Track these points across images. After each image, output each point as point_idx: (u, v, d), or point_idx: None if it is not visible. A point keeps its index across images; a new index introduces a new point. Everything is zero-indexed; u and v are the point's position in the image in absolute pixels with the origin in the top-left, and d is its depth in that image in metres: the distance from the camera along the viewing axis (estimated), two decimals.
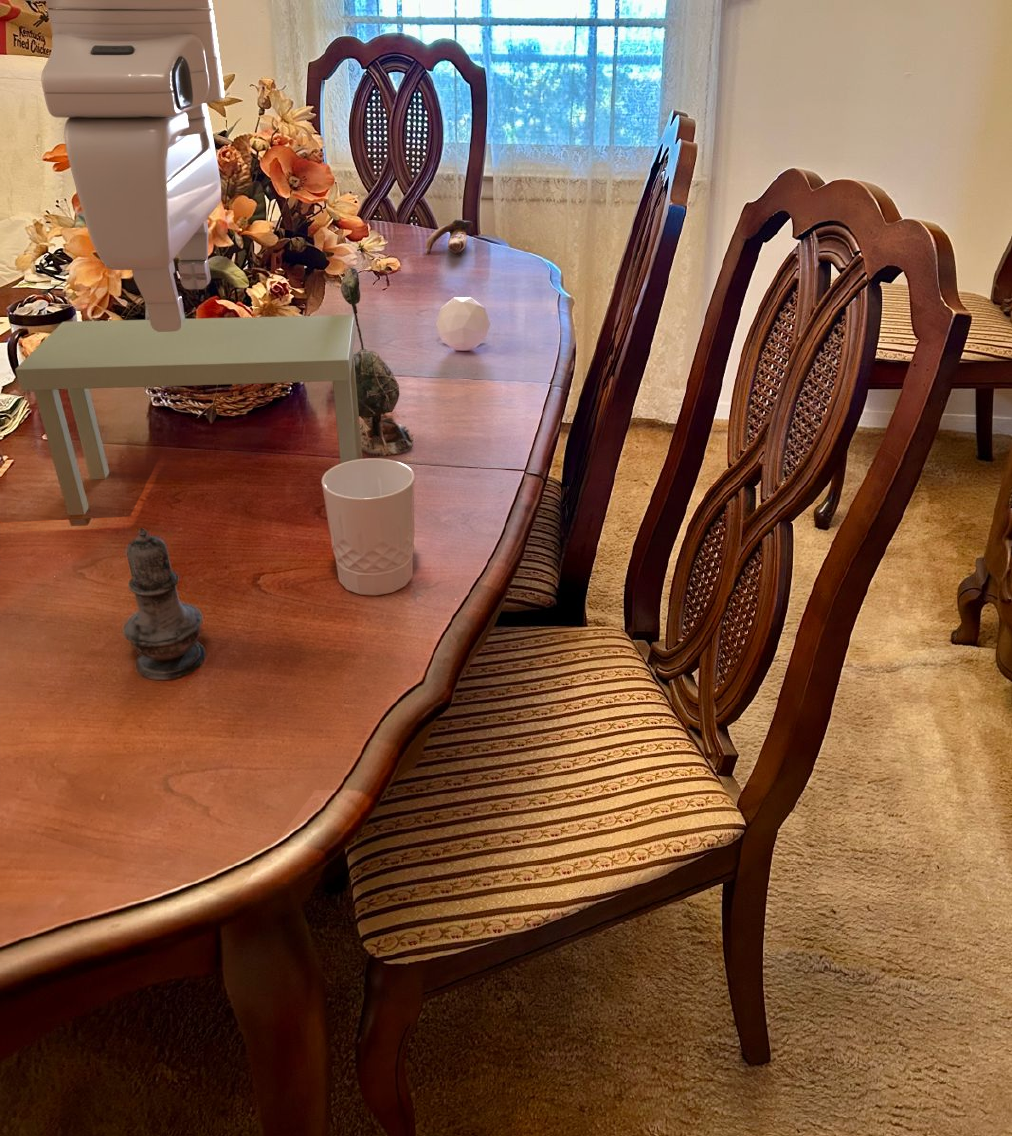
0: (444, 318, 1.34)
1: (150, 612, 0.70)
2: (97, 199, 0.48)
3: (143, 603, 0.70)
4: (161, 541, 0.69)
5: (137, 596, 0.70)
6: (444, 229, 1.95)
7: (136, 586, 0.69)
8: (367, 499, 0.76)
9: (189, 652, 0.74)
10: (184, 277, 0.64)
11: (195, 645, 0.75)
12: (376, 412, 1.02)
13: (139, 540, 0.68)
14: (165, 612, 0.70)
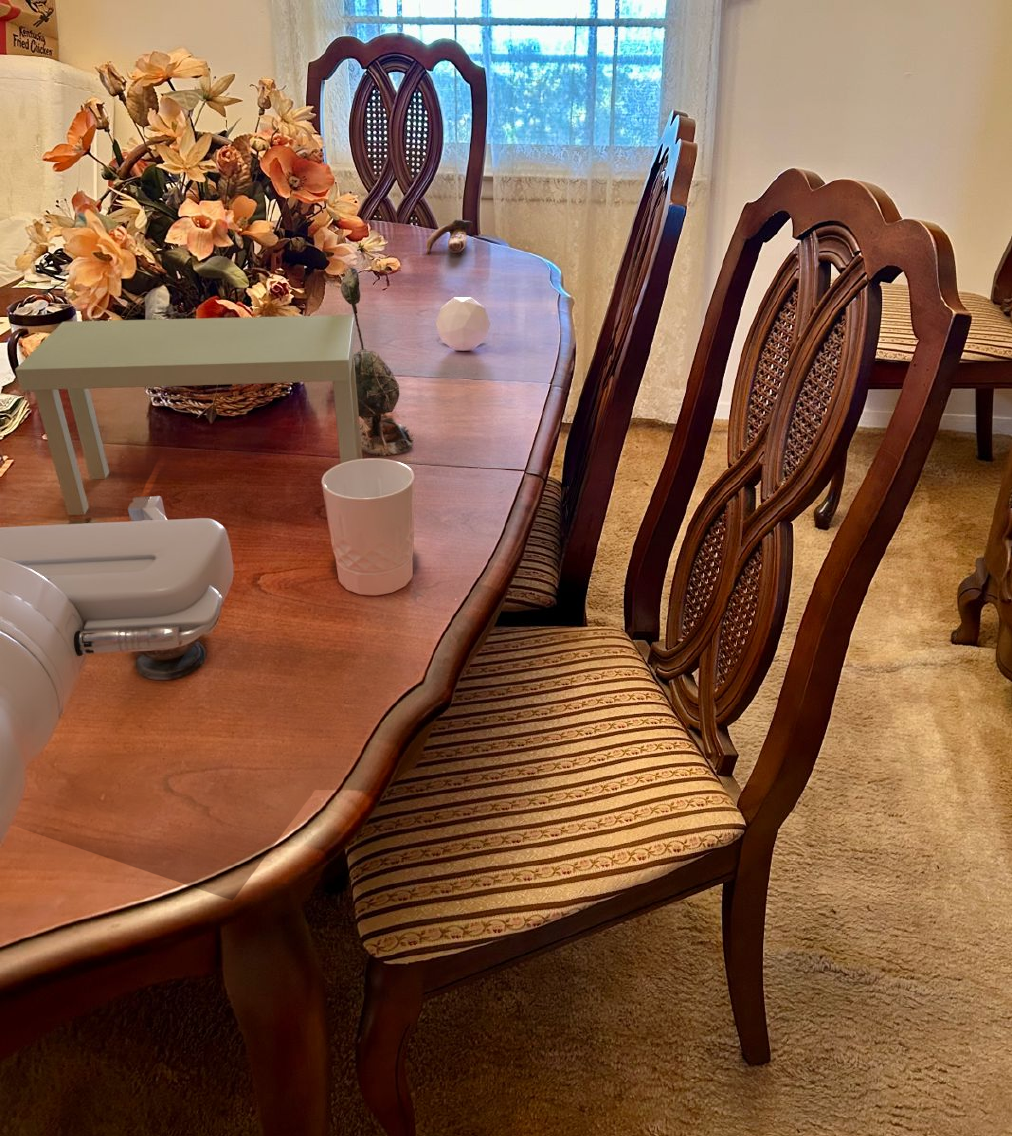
0: (444, 318, 1.34)
1: None
2: None
3: None
4: None
5: None
6: (444, 229, 1.95)
7: None
8: (367, 499, 0.76)
9: (189, 652, 0.74)
10: None
11: (195, 645, 0.75)
12: (376, 412, 1.02)
13: None
14: None
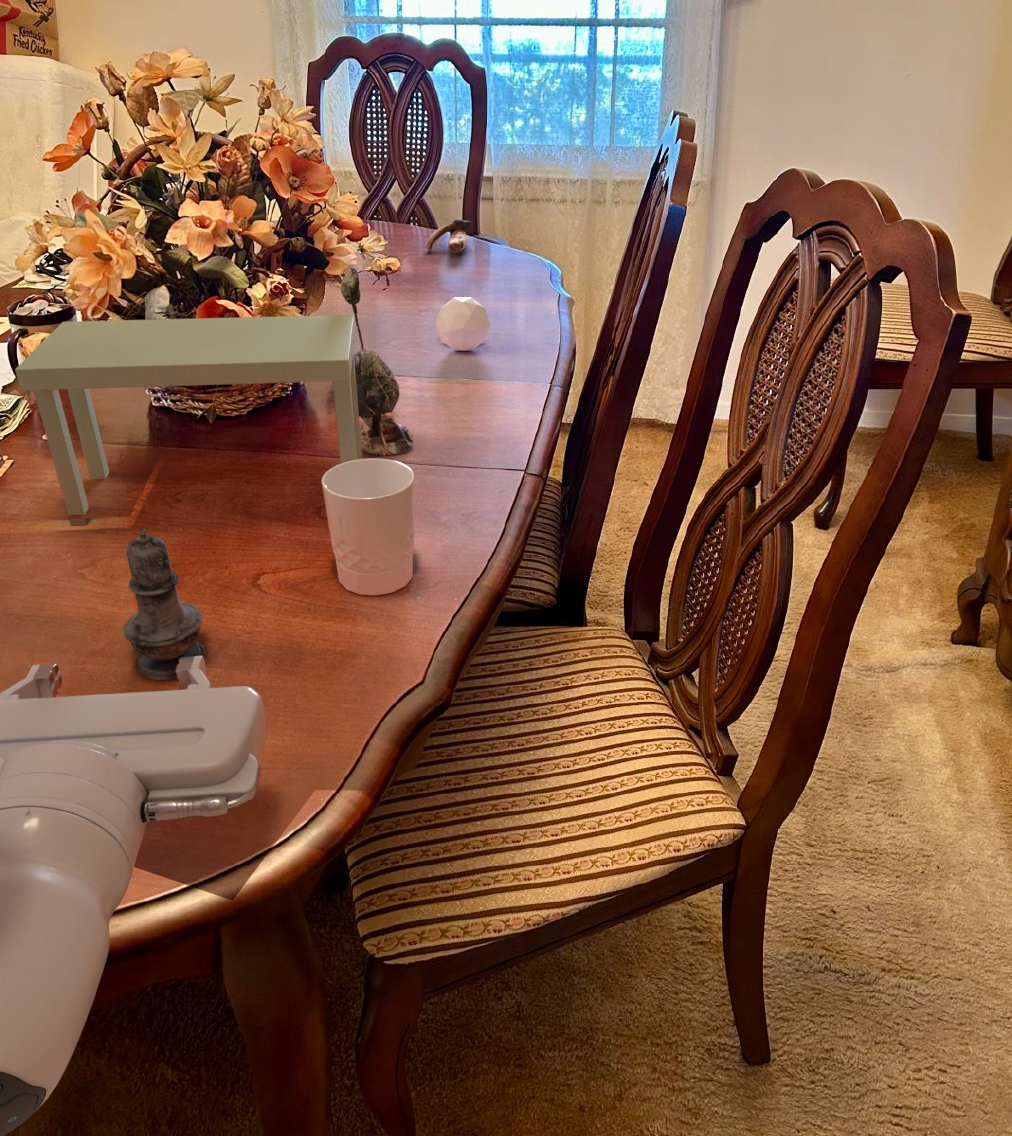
0: (444, 318, 1.34)
1: (149, 612, 0.70)
2: None
3: (143, 603, 0.70)
4: (161, 541, 0.69)
5: (137, 596, 0.70)
6: (444, 229, 1.95)
7: (136, 587, 0.69)
8: (367, 499, 0.76)
9: (189, 652, 0.74)
10: None
11: (195, 645, 0.75)
12: (376, 412, 1.02)
13: (139, 540, 0.68)
14: (165, 612, 0.70)
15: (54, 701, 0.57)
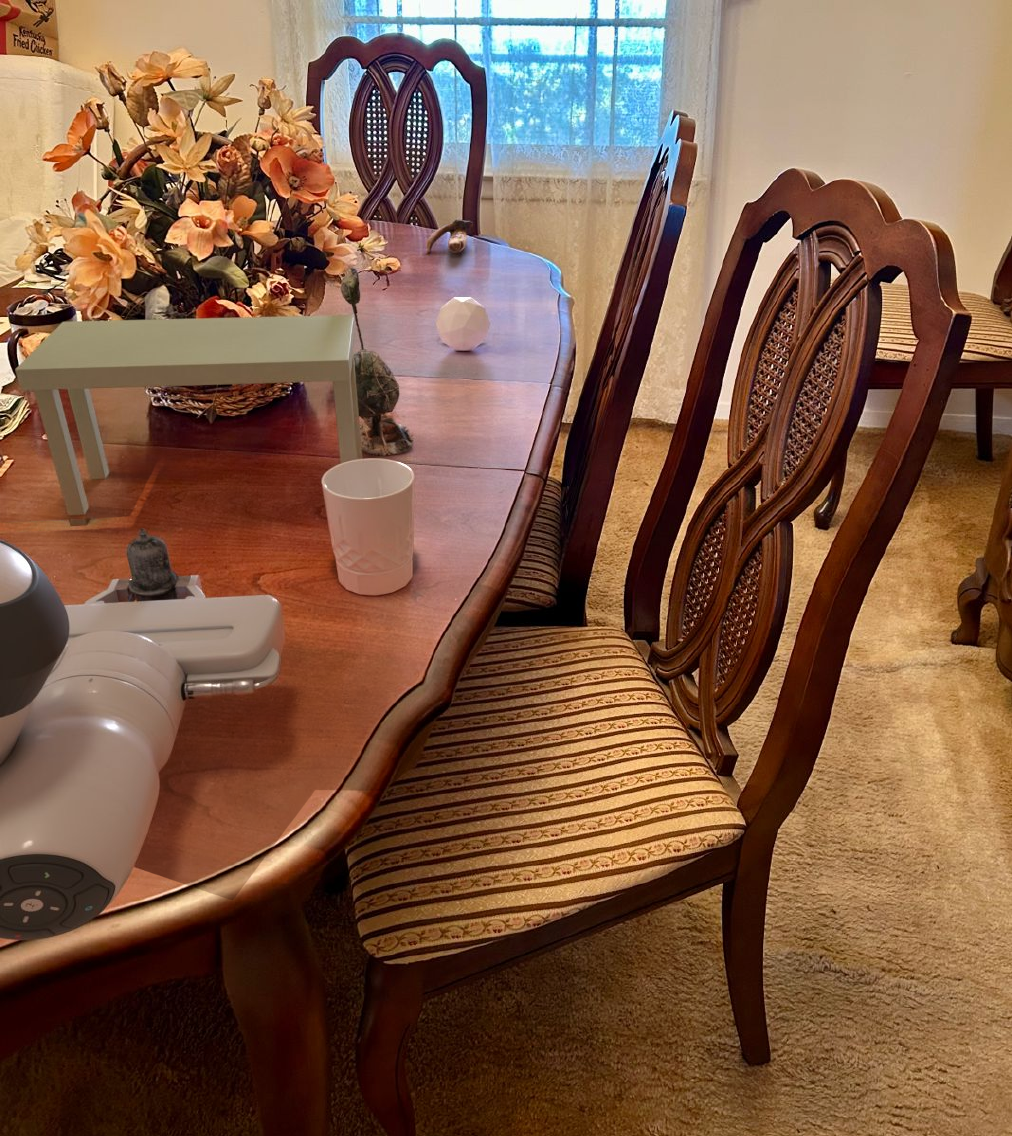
0: (444, 318, 1.34)
1: None
2: None
3: None
4: (161, 541, 0.69)
5: (137, 596, 0.70)
6: (444, 229, 1.95)
7: (136, 587, 0.69)
8: (367, 499, 0.76)
9: None
10: None
11: None
12: (376, 412, 1.02)
13: (139, 540, 0.68)
14: None
15: (103, 606, 0.66)
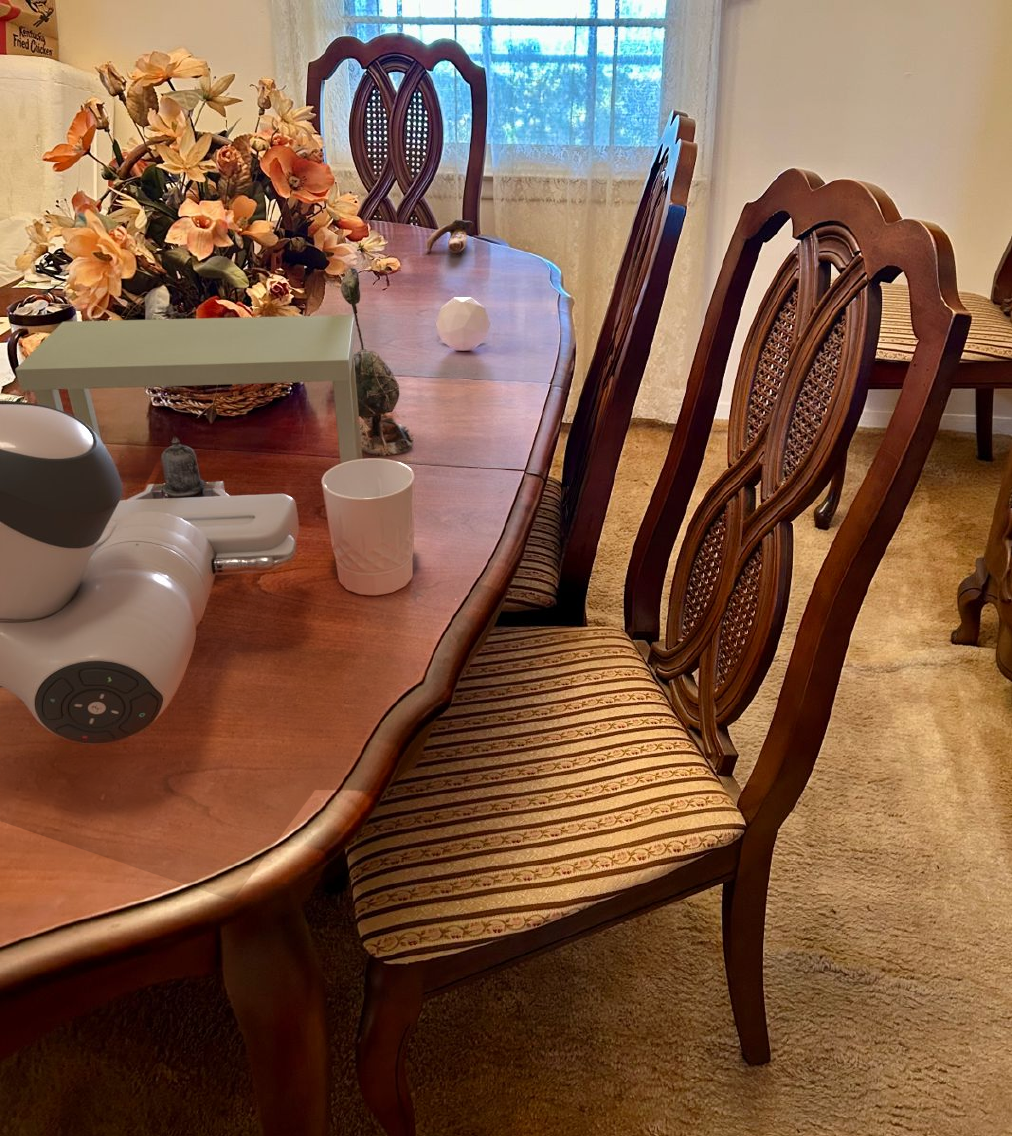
0: (444, 318, 1.34)
1: None
2: None
3: None
4: (191, 449, 0.79)
5: None
6: (444, 229, 1.95)
7: (170, 489, 0.80)
8: (367, 499, 0.76)
9: None
10: None
11: None
12: (376, 412, 1.02)
13: (172, 447, 0.79)
14: None
15: (142, 501, 0.76)
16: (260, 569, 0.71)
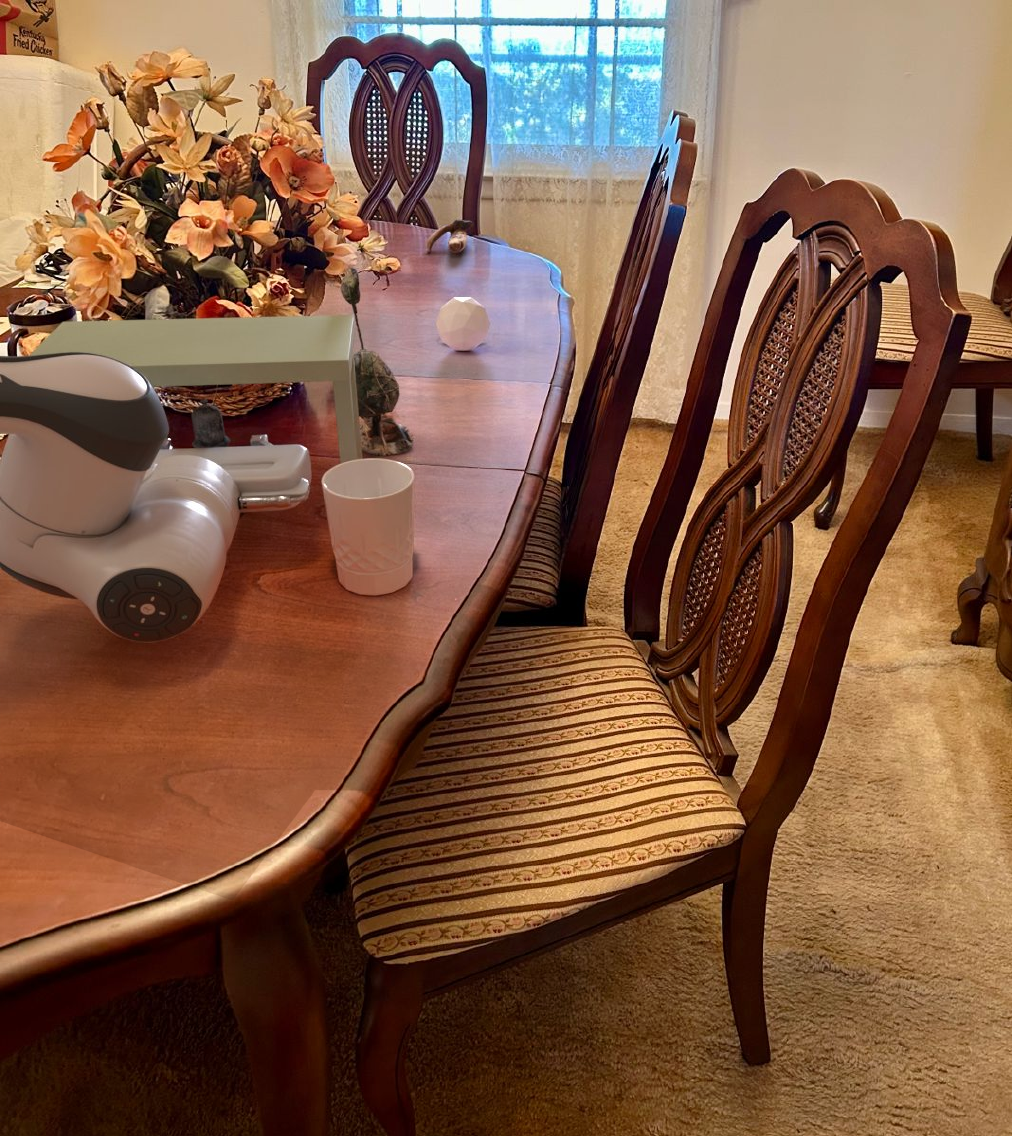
0: (444, 318, 1.34)
1: None
2: None
3: None
4: (217, 409, 0.91)
5: None
6: (444, 229, 1.95)
7: (198, 444, 0.91)
8: (367, 499, 0.76)
9: None
10: None
11: None
12: (376, 412, 1.02)
13: (201, 406, 0.90)
14: None
15: (175, 450, 0.88)
16: (279, 506, 0.83)
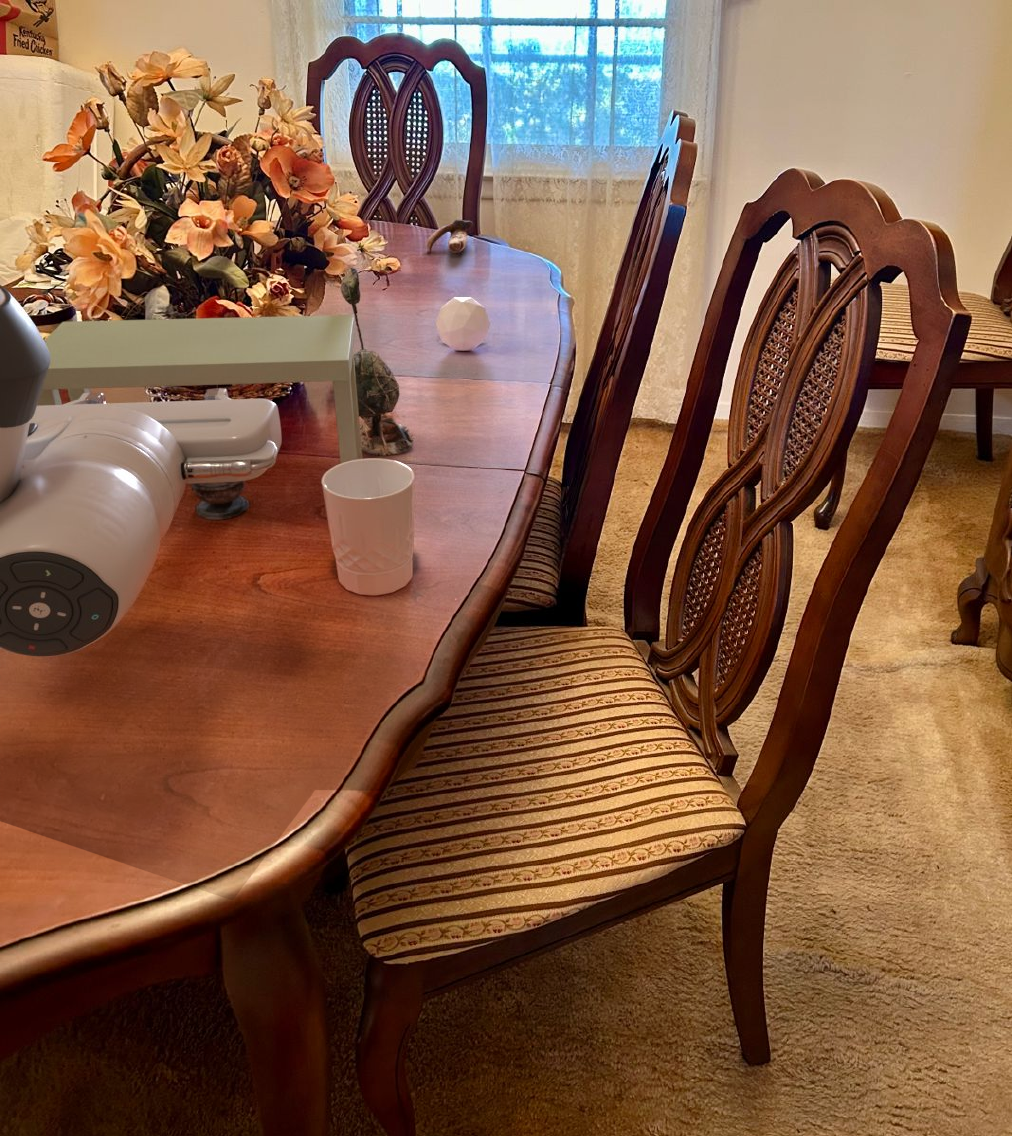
0: (444, 318, 1.34)
1: None
2: None
3: None
4: None
5: None
6: (444, 229, 1.95)
7: None
8: (367, 499, 0.76)
9: (236, 501, 0.96)
10: None
11: (240, 497, 0.97)
12: (376, 412, 1.02)
13: None
14: None
15: (106, 404, 0.68)
16: (236, 474, 0.63)
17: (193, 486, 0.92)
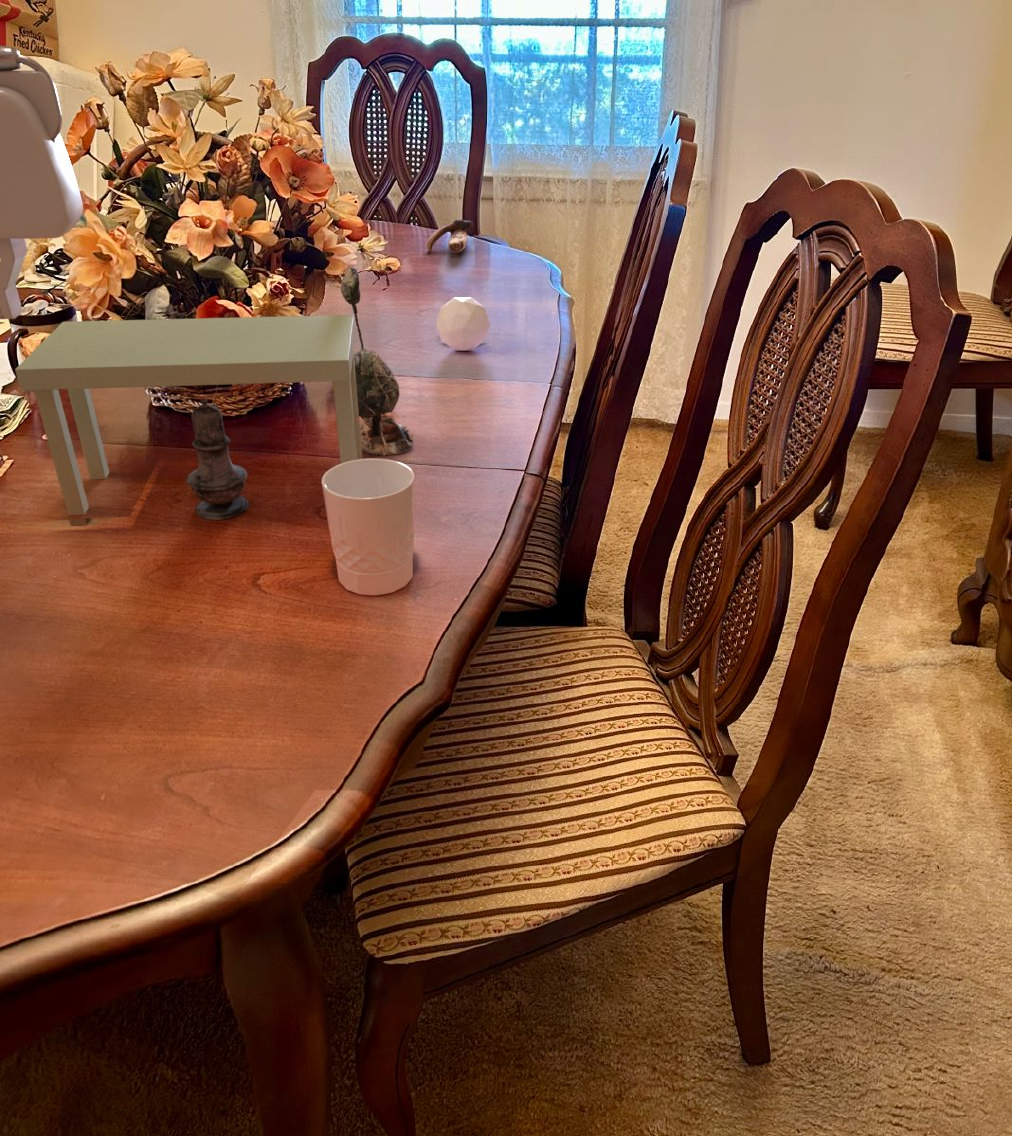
0: (444, 318, 1.34)
1: (208, 464, 0.92)
2: None
3: (203, 457, 0.92)
4: (217, 409, 0.91)
5: (199, 452, 0.92)
6: (445, 229, 1.95)
7: (198, 444, 0.91)
8: (367, 499, 0.76)
9: (236, 501, 0.96)
10: None
11: (240, 497, 0.97)
12: (376, 412, 1.02)
13: (201, 406, 0.90)
14: (219, 465, 0.92)
15: None
16: None
17: (193, 486, 0.92)
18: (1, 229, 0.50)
